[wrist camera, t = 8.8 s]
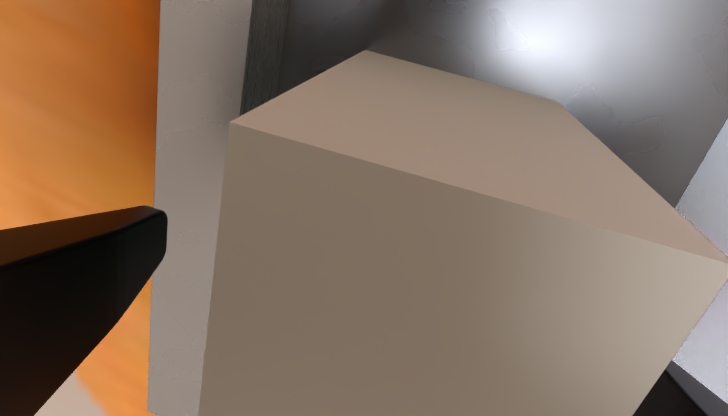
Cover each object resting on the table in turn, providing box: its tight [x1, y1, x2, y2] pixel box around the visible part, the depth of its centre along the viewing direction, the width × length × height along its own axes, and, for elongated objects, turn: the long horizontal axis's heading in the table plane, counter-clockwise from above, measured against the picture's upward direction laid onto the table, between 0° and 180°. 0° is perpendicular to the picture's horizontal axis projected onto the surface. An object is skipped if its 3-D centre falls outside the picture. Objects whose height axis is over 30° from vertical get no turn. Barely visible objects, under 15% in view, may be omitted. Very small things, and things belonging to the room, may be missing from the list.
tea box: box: [198, 50, 728, 416], centre depth 10 cm, size 5×7×8 cm
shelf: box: [147, 0, 728, 416], centre depth 11 cm, size 13×23×3 cm, turn 167°
